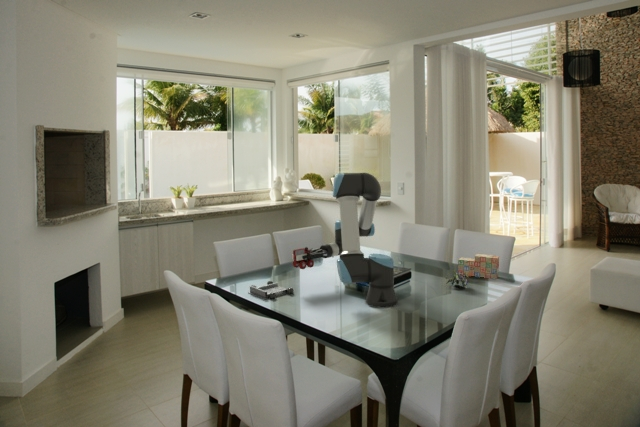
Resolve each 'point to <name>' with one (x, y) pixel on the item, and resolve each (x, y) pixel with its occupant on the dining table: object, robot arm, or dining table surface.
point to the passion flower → (458, 279)
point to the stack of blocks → (480, 266)
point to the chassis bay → (269, 290)
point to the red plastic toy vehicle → (304, 262)
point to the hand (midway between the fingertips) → (294, 257)
